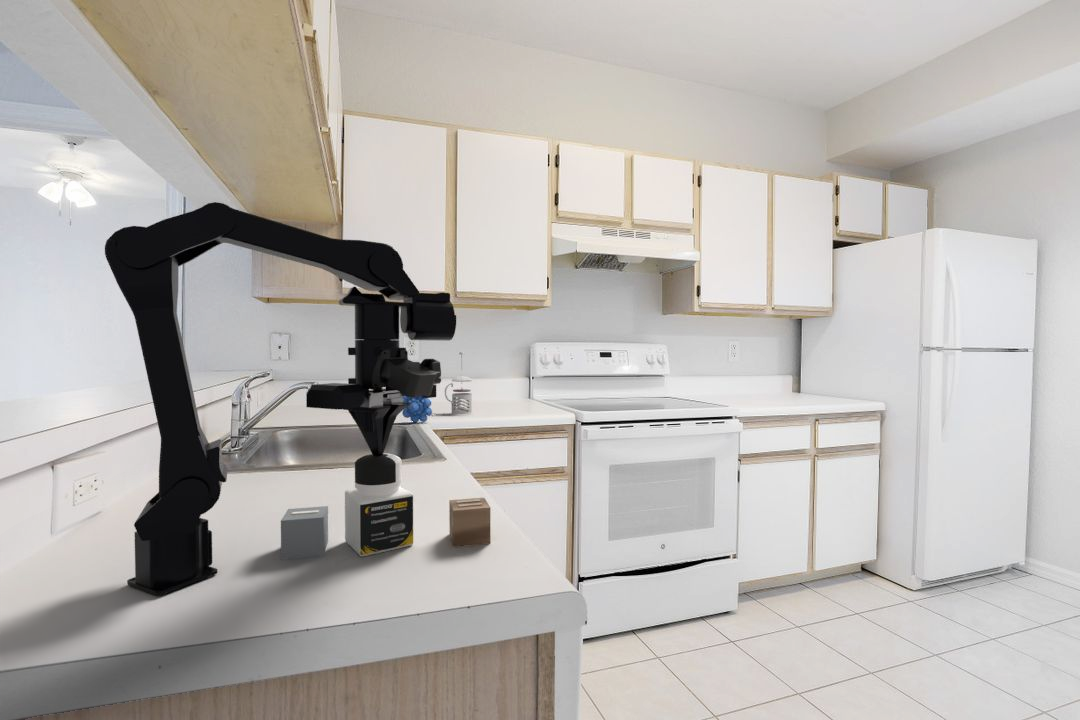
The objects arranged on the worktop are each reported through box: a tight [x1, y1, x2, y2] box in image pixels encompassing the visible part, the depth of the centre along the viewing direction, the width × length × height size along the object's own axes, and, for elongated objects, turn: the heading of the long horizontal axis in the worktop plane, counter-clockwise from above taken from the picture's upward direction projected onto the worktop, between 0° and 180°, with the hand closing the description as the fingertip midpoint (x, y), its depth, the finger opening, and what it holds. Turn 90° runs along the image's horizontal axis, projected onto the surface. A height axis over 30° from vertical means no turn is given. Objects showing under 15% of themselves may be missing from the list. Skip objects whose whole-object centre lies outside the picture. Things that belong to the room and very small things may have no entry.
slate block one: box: [280, 505, 329, 560], centre depth 69 cm, size 5×5×5 cm
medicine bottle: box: [344, 452, 414, 558], centre depth 71 cm, size 7×7×12 cm
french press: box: [444, 351, 475, 417], centre depth 209 cm, size 10×12×25 cm
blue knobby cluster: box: [401, 396, 433, 423], centre depth 185 cm, size 12×7×12 cm, turn 95°
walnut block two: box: [448, 497, 492, 548], centre depth 73 cm, size 5×5×5 cm
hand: (377, 455), depth 71 cm, fingers closed
